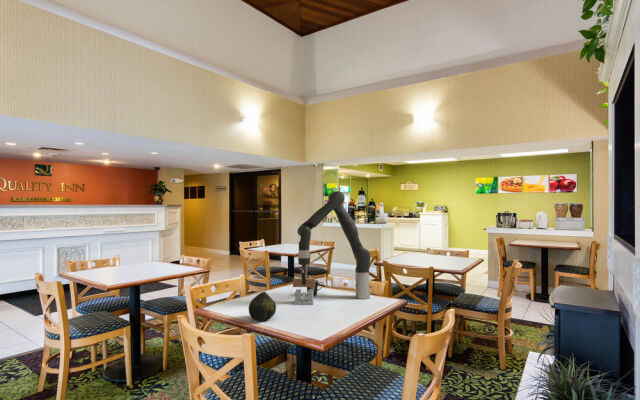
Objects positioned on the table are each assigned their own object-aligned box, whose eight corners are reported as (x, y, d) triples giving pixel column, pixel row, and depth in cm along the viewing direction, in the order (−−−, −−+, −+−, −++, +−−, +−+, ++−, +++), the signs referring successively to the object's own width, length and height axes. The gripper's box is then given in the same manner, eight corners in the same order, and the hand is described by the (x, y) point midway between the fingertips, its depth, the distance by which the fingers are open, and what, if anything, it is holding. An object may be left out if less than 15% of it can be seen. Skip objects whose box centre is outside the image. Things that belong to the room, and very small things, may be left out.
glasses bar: (315, 286, 230) (315, 278, 230) (314, 287, 226) (314, 279, 227) (293, 285, 230) (293, 278, 231) (292, 287, 227) (292, 279, 227)
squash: (251, 315, 184) (268, 290, 190) (239, 309, 196) (255, 286, 202) (270, 329, 189) (285, 305, 196) (257, 323, 201) (272, 300, 208)
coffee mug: (304, 296, 245) (304, 281, 246) (308, 293, 254) (308, 279, 254) (320, 297, 242) (320, 282, 242) (324, 294, 250) (323, 280, 251)
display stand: (314, 300, 233) (314, 288, 233) (313, 304, 223) (313, 292, 223) (295, 300, 233) (295, 288, 234) (294, 304, 223) (294, 292, 224)
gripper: (309, 258, 222) (309, 286, 221) (310, 255, 236) (310, 281, 235) (297, 258, 222) (297, 286, 222) (299, 255, 236) (299, 281, 236)
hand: (304, 283), depth 229 cm, fingers closed on glasses bar, 3 cm apart
